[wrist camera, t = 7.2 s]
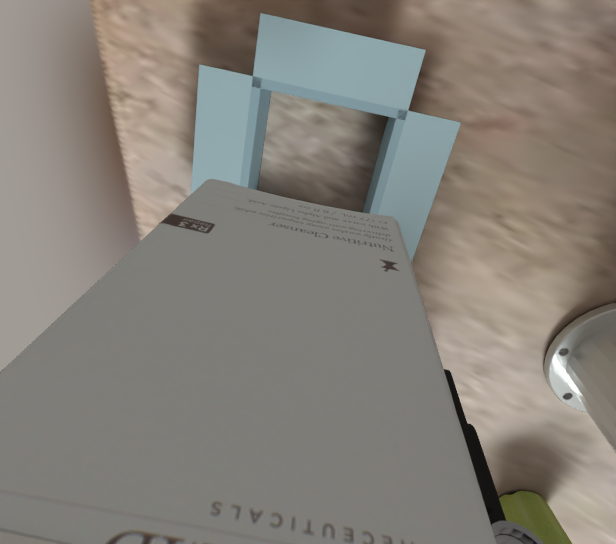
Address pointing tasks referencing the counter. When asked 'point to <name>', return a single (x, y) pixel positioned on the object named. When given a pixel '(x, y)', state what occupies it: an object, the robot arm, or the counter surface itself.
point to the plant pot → (534, 516)
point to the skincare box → (242, 391)
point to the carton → (334, 90)
